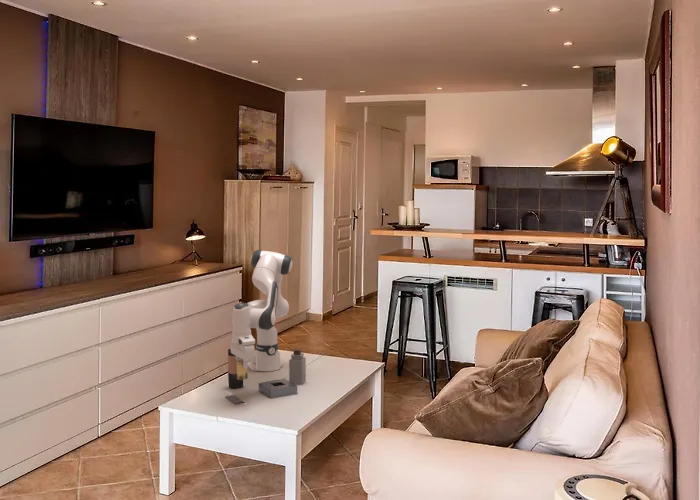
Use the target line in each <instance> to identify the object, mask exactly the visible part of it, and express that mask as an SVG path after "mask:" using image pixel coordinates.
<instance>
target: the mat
mask: <svg viewBox="0 0 700 500" xmlns="http://www.w3.org/2000/svg"><path fill="white" fill-rule="evenodd" d="M224 397H225V399H226V398H227V400H228V401H229V402H231V403H232V404H234V405H240V404H246V402H245V401H244V400H243V399H241V398H239V397H237V396H236V395H235V394H229V395H224Z"/></svg>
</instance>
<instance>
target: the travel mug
mask: <svg viewBox="0 0 700 500" xmlns="http://www.w3.org/2000/svg"><path fill="white" fill-rule="evenodd" d="M241 360H243V359H241ZM227 375H228V378H227V379H228V381H227V382H228V389H230V390H239V389H243V388H244V380H239V379H237V360H236V355H234V354H232V353H231V348H228V349H227Z"/></svg>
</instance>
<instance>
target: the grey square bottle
mask: <svg viewBox="0 0 700 500" xmlns="http://www.w3.org/2000/svg"><path fill="white" fill-rule="evenodd" d="M304 354H305V353H304V352H302V348H299V349H298V348H295V349H294V350H293V353H292V354H290V358H289V360H288V361H289V362H288V367H289V368H288V376H289V378H288V381H290V382H292V383H293V384H295V385H300V386H302V385H304V383H306V382H307V381H306V378H307V377H306V375H307V373H306V371H307V370H306V369H307V368H306V367H307V366H306V365H307V364H306V363H307V360H306V359H307V358H306V357H305V356H304Z"/></svg>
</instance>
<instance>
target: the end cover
mask: <svg viewBox="0 0 700 500" xmlns="http://www.w3.org/2000/svg"><path fill="white" fill-rule="evenodd" d="M243 362H244V361H243V360H241V361H237V379H239V380H243V381H244V380H248V379H249V375H248V373H249V371H248V368H249V367H248V366H247V368H245V369H244V368H243V366H242V364H243Z"/></svg>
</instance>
